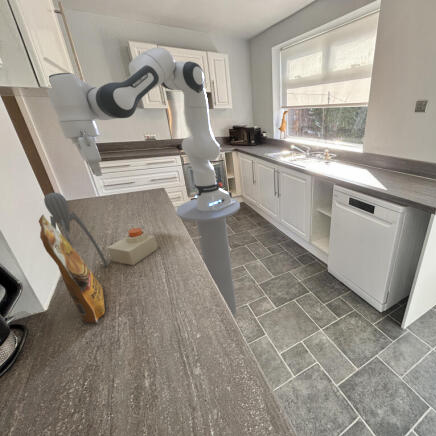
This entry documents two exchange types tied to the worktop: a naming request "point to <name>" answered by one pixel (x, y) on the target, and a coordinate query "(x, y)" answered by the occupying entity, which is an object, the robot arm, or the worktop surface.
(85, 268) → the pancake mix bag
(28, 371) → the worktop surface
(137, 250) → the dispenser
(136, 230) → the nozzle
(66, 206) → the citrus juicer
